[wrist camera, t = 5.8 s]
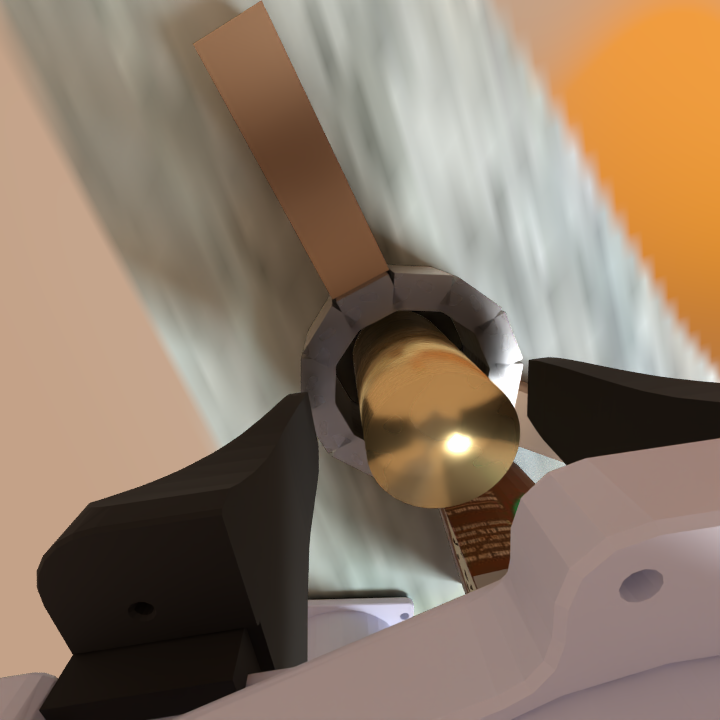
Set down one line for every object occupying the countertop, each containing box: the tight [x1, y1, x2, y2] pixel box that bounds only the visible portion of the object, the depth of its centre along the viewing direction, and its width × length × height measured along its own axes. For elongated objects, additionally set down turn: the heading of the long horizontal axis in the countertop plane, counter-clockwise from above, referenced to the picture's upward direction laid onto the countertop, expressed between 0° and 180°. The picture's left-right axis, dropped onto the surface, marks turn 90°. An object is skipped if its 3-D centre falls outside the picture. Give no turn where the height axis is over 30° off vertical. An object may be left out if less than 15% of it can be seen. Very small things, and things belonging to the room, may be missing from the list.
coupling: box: [193, 0, 563, 477], centre depth 14 cm, size 15×16×3 cm
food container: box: [439, 462, 535, 594], centre depth 14 cm, size 12×6×10 cm, turn 18°
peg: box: [353, 311, 520, 508], centre depth 13 cm, size 4×4×7 cm
